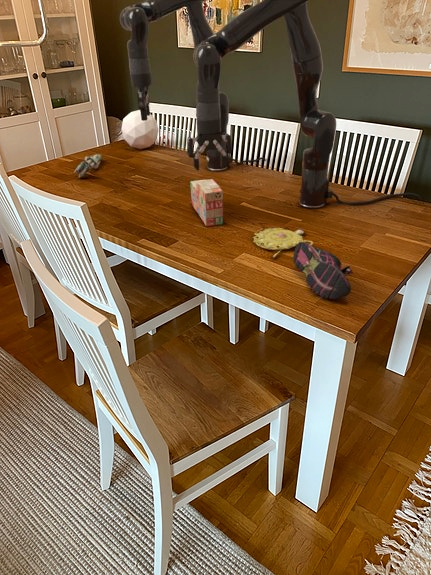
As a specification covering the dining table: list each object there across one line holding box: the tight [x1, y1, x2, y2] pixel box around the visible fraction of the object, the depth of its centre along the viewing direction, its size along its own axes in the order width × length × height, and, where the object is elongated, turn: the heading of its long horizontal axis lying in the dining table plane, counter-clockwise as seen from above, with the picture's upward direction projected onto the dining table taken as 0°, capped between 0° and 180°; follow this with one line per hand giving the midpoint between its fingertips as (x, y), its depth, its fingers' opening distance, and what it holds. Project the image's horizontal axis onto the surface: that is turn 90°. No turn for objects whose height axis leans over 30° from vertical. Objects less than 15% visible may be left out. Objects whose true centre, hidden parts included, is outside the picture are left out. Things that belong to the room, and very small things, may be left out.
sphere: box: [121, 109, 159, 150], centre depth 235 cm, size 19×20×20 cm
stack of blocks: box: [189, 178, 224, 227], centre depth 158 cm, size 21×6×12 cm, turn 17°
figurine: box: [73, 154, 103, 179], centre depth 208 cm, size 7×8×30 cm
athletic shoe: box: [292, 242, 354, 300], centre depth 118 cm, size 11×22×12 cm
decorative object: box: [252, 227, 314, 259], centre depth 140 cm, size 21×2×20 cm
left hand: (146, 117), depth 171 cm, fingers open, 8 cm apart
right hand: (210, 168), depth 146 cm, fingers open, 8 cm apart
